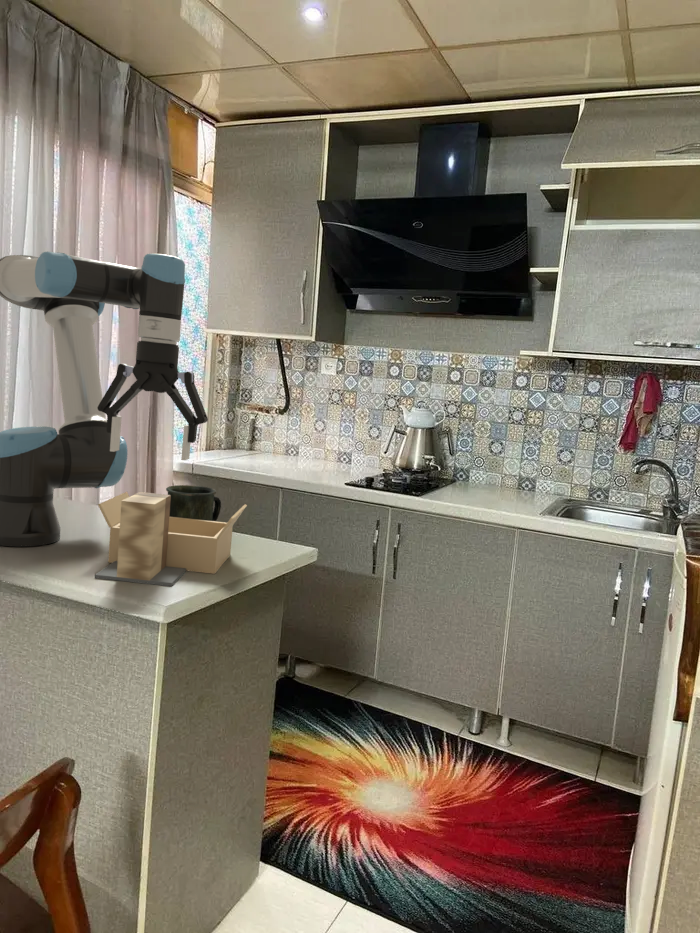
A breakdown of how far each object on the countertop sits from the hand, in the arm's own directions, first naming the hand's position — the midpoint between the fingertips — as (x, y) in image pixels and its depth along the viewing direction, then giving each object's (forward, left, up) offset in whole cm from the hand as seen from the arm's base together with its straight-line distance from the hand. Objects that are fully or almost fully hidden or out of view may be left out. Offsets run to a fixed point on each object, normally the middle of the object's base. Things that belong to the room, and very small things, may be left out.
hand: (149, 455), depth 134 cm
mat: (+1, -4, -22) cm, 22 cm away
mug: (+3, +26, -22) cm, 35 cm away
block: (+1, -4, -22) cm, 22 cm away
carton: (+3, +9, -22) cm, 24 cm away
